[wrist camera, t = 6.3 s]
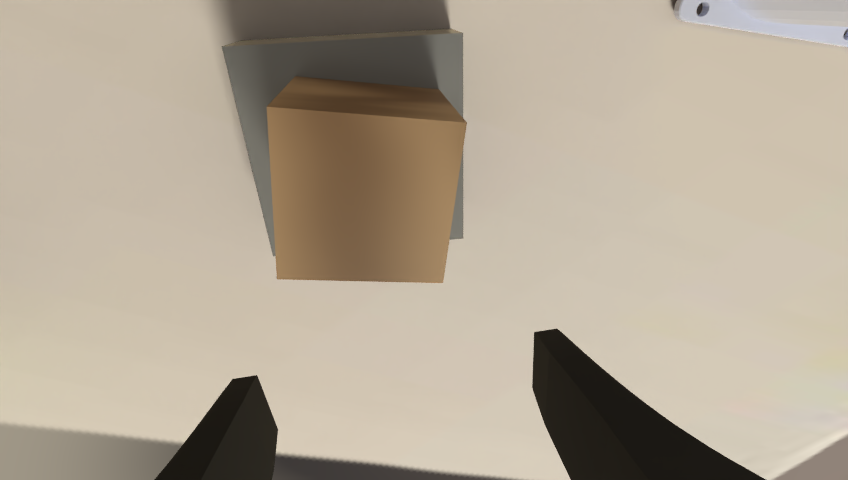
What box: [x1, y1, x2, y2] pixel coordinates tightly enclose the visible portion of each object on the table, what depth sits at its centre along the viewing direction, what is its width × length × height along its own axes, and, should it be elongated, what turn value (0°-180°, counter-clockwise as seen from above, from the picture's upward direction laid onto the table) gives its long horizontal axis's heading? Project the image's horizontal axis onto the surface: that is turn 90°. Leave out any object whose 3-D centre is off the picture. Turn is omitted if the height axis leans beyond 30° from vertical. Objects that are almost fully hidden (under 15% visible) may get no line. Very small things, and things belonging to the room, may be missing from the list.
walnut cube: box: [267, 76, 467, 283], centre depth 14 cm, size 5×5×5 cm
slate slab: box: [222, 29, 463, 256], centre depth 18 cm, size 8×8×3 cm
